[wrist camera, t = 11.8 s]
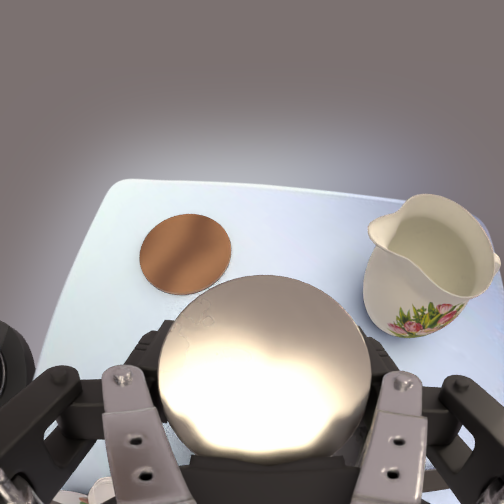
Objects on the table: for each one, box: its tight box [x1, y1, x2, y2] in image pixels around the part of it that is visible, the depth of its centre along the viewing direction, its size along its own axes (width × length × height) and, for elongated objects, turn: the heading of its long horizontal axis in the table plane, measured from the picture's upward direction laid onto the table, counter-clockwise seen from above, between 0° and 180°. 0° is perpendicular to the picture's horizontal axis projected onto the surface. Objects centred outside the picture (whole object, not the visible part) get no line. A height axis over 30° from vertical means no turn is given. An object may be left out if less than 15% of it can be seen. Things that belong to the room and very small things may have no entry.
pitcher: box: [363, 194, 501, 338], centre depth 27 cm, size 11×18×14 cm, turn 89°
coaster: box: [140, 214, 231, 295], centre depth 36 cm, size 11×11×1 cm
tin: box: [157, 275, 372, 466], centre depth 12 cm, size 6×6×9 cm
